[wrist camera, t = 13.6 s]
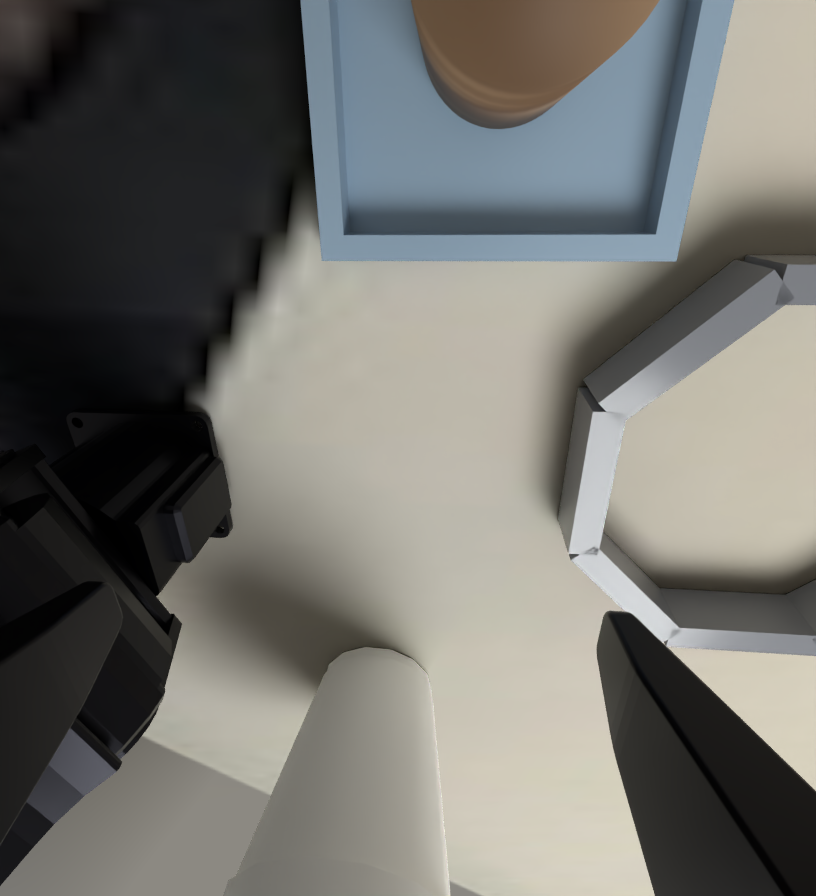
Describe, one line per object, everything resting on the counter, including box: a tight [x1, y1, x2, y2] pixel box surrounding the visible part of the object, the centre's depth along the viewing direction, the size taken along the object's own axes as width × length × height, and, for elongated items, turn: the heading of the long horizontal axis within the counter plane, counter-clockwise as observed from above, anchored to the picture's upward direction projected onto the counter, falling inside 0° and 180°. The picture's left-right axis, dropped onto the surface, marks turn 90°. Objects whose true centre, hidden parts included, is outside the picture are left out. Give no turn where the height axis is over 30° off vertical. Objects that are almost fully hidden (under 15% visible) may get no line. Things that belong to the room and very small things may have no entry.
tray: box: [301, 0, 734, 261], centre depth 15 cm, size 12×13×2 cm
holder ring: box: [558, 255, 816, 656], centre depth 20 cm, size 16×16×2 cm
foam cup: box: [223, 647, 451, 896], centre depth 24 cm, size 10×9×13 cm
